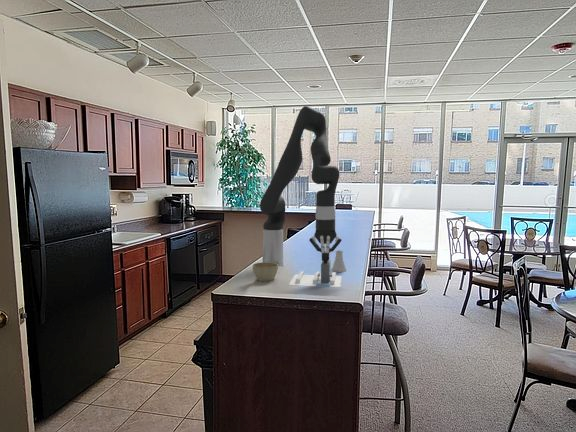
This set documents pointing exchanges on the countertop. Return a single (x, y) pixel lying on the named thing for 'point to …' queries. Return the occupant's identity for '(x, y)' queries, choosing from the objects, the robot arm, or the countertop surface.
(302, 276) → the board
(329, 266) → the grey rectangular block
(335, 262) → the flask
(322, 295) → the countertop surface
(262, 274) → the flower pot
